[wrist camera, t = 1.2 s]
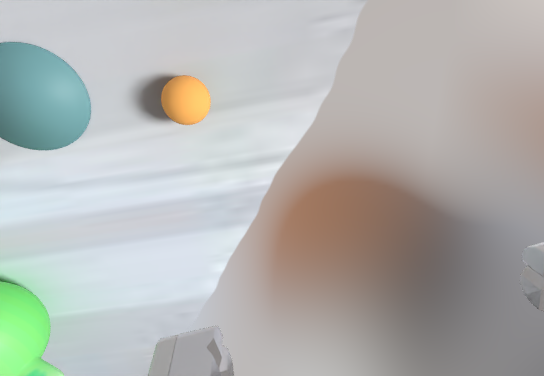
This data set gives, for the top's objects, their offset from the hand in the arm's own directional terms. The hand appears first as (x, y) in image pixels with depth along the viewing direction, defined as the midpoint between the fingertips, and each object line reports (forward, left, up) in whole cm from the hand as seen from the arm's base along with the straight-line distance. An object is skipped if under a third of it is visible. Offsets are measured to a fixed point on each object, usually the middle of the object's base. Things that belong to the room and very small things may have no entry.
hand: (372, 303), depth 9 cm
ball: (+3, -6, -34) cm, 35 cm away
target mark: (+3, -23, -37) cm, 43 cm away
